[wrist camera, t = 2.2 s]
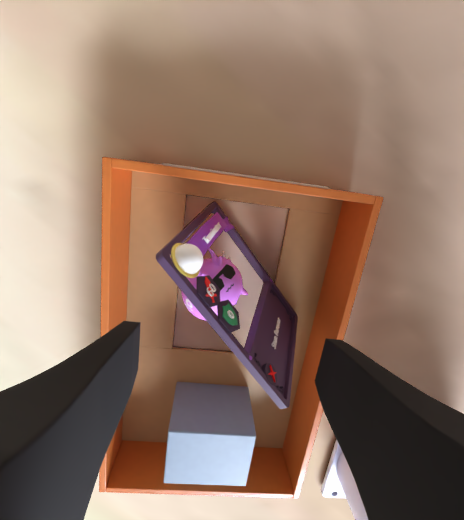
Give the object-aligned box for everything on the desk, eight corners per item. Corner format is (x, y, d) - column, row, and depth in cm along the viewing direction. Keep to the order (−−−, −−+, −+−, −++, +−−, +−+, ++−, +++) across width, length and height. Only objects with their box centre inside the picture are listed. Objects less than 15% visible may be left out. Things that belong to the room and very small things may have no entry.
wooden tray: (351, 190, 17) (384, 195, 14) (285, 450, 23) (298, 498, 19) (123, 157, 16) (99, 154, 12) (115, 441, 21) (97, 492, 18)
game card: (304, 406, 13) (173, 243, 10) (214, 426, 15) (93, 297, 13) (308, 311, 18) (224, 193, 16) (243, 337, 21) (162, 237, 19)
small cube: (248, 386, 20) (256, 435, 17) (240, 430, 21) (246, 486, 18) (176, 380, 20) (168, 431, 16) (172, 427, 21) (162, 483, 17)
